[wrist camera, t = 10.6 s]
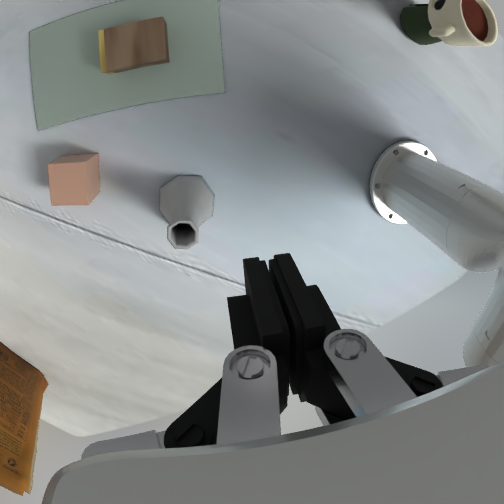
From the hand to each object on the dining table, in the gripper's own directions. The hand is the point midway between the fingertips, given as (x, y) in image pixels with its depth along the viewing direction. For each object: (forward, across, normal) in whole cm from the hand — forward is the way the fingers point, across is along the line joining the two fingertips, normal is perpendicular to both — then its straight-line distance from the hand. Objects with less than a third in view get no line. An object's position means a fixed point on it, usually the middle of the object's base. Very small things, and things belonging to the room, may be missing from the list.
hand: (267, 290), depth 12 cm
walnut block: (+26, +12, -14) cm, 32 cm away
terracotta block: (+29, +18, 0) cm, 34 cm away
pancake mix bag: (+29, +46, +32) cm, 63 cm away
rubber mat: (+29, +11, -14) cm, 34 cm away
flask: (+29, +5, +6) cm, 30 cm away
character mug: (+29, -28, -18) cm, 44 cm away
